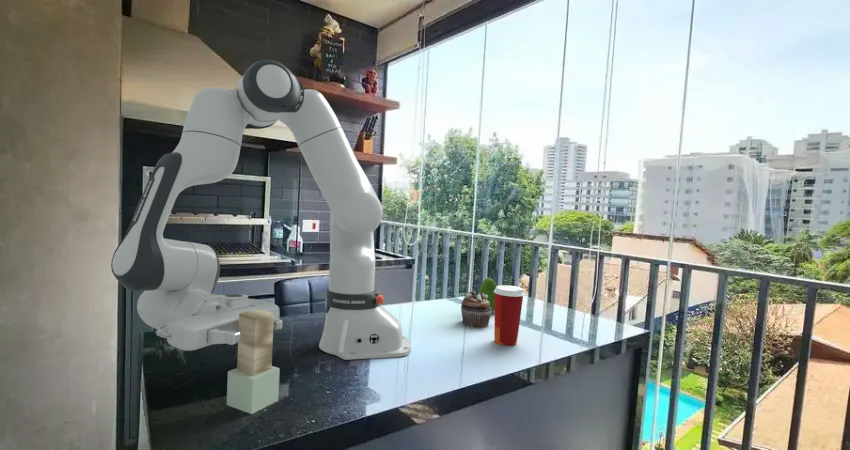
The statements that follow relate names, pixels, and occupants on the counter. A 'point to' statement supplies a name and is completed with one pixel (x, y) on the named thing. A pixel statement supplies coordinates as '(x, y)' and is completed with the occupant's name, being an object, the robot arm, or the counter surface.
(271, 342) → the maple pillar
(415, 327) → the counter surface
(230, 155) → the robot arm
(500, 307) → the coffee cup
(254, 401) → the sage block
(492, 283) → the avocado
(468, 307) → the cupcake
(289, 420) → the counter surface
